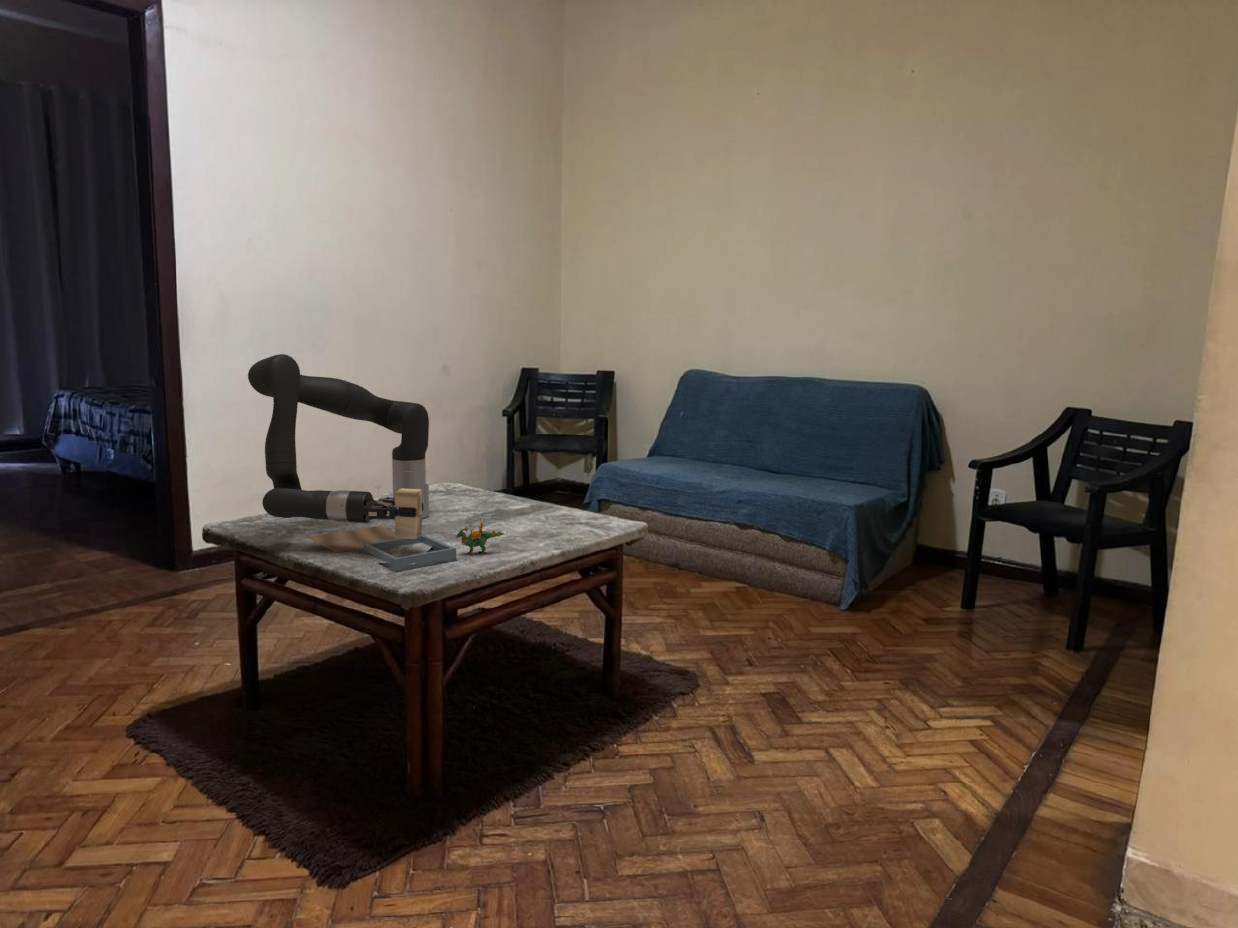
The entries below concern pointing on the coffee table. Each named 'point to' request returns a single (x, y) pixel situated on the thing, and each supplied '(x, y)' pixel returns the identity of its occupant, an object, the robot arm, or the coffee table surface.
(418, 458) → the robot arm
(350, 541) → the walnut board
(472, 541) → the figurine
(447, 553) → the box
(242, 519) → the coffee table surface
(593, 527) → the coffee table surface
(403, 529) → the maple block
